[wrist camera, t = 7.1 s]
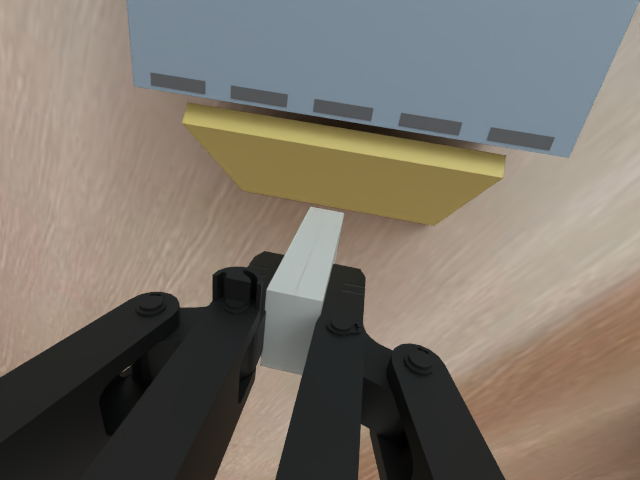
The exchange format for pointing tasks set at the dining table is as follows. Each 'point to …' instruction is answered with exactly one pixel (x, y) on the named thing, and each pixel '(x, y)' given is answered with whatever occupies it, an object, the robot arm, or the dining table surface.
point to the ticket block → (392, 61)
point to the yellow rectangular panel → (343, 165)
